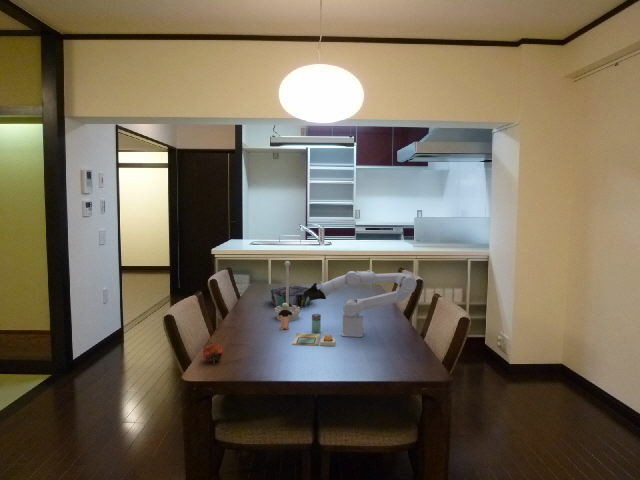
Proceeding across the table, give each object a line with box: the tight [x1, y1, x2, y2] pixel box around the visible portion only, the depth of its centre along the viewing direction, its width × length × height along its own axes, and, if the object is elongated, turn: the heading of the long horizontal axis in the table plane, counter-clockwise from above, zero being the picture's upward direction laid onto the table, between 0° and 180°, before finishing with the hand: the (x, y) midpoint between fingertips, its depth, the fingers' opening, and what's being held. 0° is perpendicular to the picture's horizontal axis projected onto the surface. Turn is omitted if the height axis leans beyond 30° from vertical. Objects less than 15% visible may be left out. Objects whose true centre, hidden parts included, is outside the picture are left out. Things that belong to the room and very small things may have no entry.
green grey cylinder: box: [311, 313, 322, 334], centre depth 201 cm, size 4×4×8 cm
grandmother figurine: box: [276, 303, 294, 331], centre depth 205 cm, size 8×4×13 cm, turn 105°
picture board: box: [291, 332, 322, 347], centre depth 189 cm, size 11×14×1 cm
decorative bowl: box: [268, 285, 312, 308], centre depth 254 cm, size 26×28×10 cm
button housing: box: [319, 336, 336, 347], centre depth 185 cm, size 6×6×2 cm
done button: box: [323, 333, 333, 342], centre depth 185 cm, size 3×3×2 cm
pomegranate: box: [202, 341, 224, 366], centre depth 163 cm, size 7×7×10 cm
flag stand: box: [274, 260, 301, 322], centre depth 223 cm, size 13×13×30 cm
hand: (306, 296), depth 199 cm, fingers open, 7 cm apart
